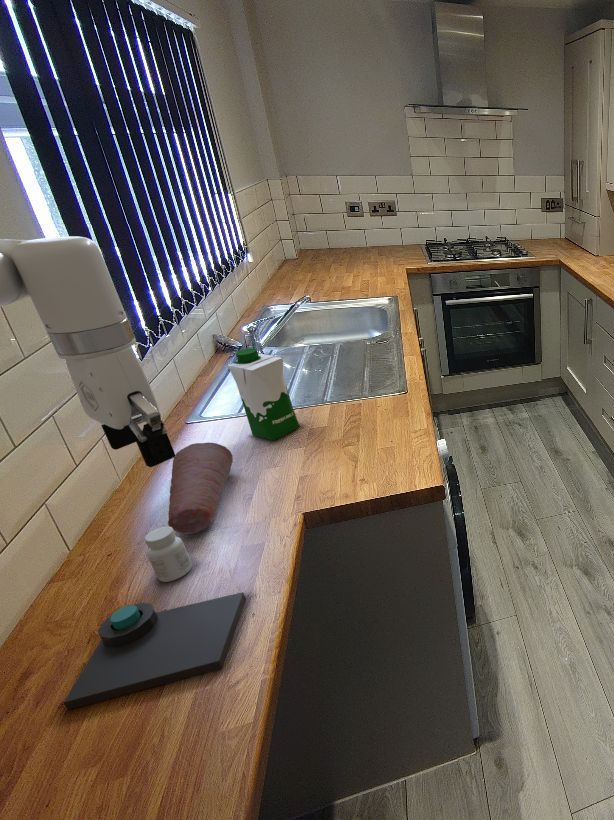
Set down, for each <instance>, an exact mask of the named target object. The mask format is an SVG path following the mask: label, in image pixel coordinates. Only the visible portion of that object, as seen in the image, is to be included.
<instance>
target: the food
mask: <svg viewBox="0 0 614 820" xmlns="http://www.w3.org/2000/svg"><path fill="white" fill-rule="evenodd" d="M233 459H234V456H233V454H232V451H231V450H230V449H229V448H228V447H226V446H224V445H222V444H220V443H217V442H196V443H191V444H189V445H187V446H185V447H183V448H181V449H180V450H178V451H177V452H175V457H174V458H172V464H171V465H172V468H171V478H170V487H169V503H168V504H169V505H168V516H167V517H168V521H167V524H168V526H169V527H172V528H173V530H174V532H175V533H178V534H182V535H192V534H193V535H194V534H197V533H199V532H201V531H203V530H205V529H206V528H208V527H210V526H212V525H213V524H214V520H215V516H216V515H217V511H218V509H219V505H220V502H221V501H222V500H221V499H222V495H223V494H224V493H223V492H224V490H225V489H226V485H227V482H228V480H229V479H228V478H229V475H230V472H231V470H232V465H233V461H234V460H233Z"/></svg>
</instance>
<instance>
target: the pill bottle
mask: <svg viewBox="0 0 614 820" xmlns="http://www.w3.org/2000/svg"><path fill="white" fill-rule="evenodd" d="M144 541H145V543H146V546H147V547H148V548H147V550H146V556H147V558H148V560H149V563H150V565H151V567H152V568H153V571H154V573H155V576H156V577H157V579H158V580H159V581H160V582H164V583H169V582H173V581H175V580H178V579H181V578H182V577H184V576H186V575H187V574H188V573H189V572H190V571H191V569H192V567H193V563H192V561H191V557H190V555H189V552H188V551H187V549H186V546H185V543H184V541H183V540H182V538H180V536H179V537H178V536H176V531H174V530H173V528H172V527H169V525H168V526H167V525H166V526H161V527H158V528H156V529H153V530H151V531H150V532H148V533H147V534H146V535H145V537H144Z"/></svg>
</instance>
